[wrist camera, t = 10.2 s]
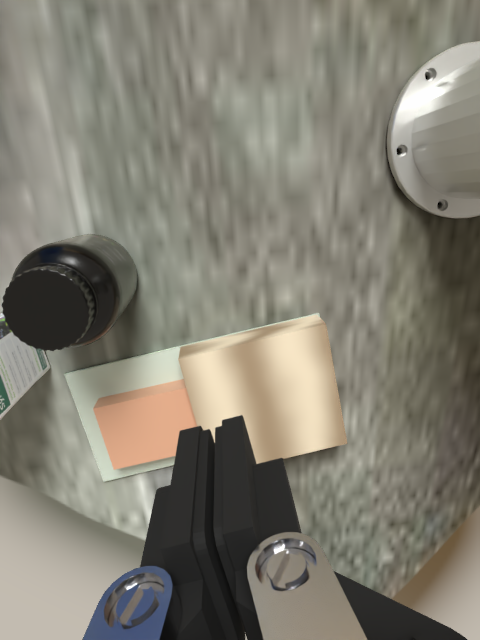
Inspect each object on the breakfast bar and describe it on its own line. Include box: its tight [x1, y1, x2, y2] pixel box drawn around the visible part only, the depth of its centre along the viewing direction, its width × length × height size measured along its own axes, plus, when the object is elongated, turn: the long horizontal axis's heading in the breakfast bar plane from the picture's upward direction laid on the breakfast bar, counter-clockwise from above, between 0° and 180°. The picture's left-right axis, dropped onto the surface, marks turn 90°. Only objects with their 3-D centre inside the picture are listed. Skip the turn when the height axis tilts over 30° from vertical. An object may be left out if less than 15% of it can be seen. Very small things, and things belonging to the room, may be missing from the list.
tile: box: [93, 379, 197, 470], centre depth 38 cm, size 8×6×2 cm
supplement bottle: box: [2, 234, 137, 351], centre depth 30 cm, size 7×7×12 cm
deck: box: [178, 315, 347, 464], centre depth 38 cm, size 12×11×3 cm
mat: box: [64, 313, 320, 482], centre depth 39 cm, size 22×11×1 cm, turn 103°
